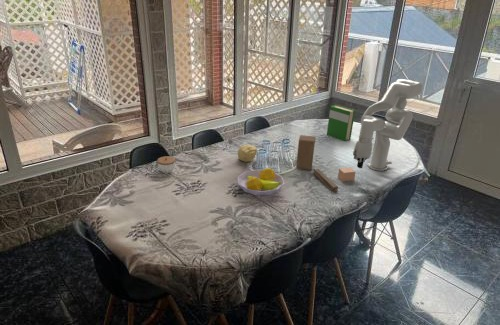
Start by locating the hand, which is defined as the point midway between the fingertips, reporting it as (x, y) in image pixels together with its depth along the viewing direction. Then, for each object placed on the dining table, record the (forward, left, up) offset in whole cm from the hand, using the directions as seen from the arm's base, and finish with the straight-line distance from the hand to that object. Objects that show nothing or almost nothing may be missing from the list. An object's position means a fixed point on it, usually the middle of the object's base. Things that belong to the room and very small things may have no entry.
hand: (359, 167), depth 225 cm
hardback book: (-25, -66, -7) cm, 71 cm away
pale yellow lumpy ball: (+60, -40, -7) cm, 73 cm away
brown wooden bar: (+23, +1, -7) cm, 24 cm away
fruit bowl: (+64, +1, -7) cm, 65 cm away
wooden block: (+26, -22, -7) cm, 35 cm away
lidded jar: (+113, -35, -7) cm, 119 cm away
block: (+8, 0, -7) cm, 11 cm away
